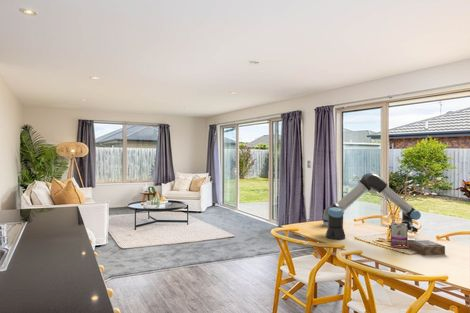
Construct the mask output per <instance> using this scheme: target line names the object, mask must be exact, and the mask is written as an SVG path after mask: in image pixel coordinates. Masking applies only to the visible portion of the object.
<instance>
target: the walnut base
mask: <svg viewBox="0 0 470 313" xmlns="http://www.w3.org/2000/svg"><path fill="white" fill-rule="evenodd" d="M407 249H408V250H410V251H413V252H414V253H417V254H420V255H422V256H437V255H438V256H440V255H446V246H445V245H444V244H443V245H442V244H441V243H440V244H439V243H437V242H434V241H431V240H429V239H428V240H427V239H426V240H425V239H424V240H423V239H422V240H421V239H419V240H408V245H407Z"/></svg>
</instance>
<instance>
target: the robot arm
mask: <svg viewBox="0 0 470 313" xmlns="http://www.w3.org/2000/svg"><path fill="white" fill-rule="evenodd" d="M371 190H374V191H376V192H377V193H378V194H381V195H383V196H384V197H385V196H386V197H387V198H386V197H385V198H386V199H387V200H389V201H390V202H391V203H392V204H393V205H395V206H396V207H397V208H398V206H399V207H400V209H399V210H401V211H402V212H401V213H402V214H401V222H400V223H404V224H407V232H408V231H410V234H413V233H418V230H419V229H418V227H415V225H414V222H413V221H417V220H420V219H421V217H422V215H421V214H422V213H421V212H420V211H419V210H417V209H415V208H414V207H413V205H412V204H410V203H408V202H407V201H406V200H405V199H404V198H402V196H400V195H399V194H398V193H396V192H395V191H394V190H393V189H392V188H391V187H389V186H388V183H387V182H385V180H384V179H382V178H381V177H380V176H379V175H378V174H375V173H369V172H368V173H365V174H363V176H362V177H361V179H360V180H358V182H357V185H356V186H354V187H353V188H352V189H351V190H349V192H348V193H347V194H346V195H344V196H343V197H342V198H341V199H340V200H339V201H338V202H334V203H333V204H331V205H329V206H328V207H326V210H325V209H324V210H325V216H326V218H327V219H328V226H327V230H326V233H325V237H326V239H331V240H336V241H337V240H344V239H346V233H345V230H344V214H345V211H346V210H347V209H348V208H349V207H351V206H352V205H353V204H354V203H355V202H356V201H357V200H358V199H359V198H361V197H362V196H363V195H364V194H365V193H369V192H370V191H371ZM403 199H404V200H405V201H404V200H403ZM388 229H389V230H391V224H390V225H388Z"/></svg>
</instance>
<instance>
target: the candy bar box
mask: <svg viewBox="0 0 470 313" xmlns="http://www.w3.org/2000/svg"><path fill="white" fill-rule="evenodd" d="M390 225H391V229H390V246H393V245H401V246H400V247H402V246H403V245H405V246H407V247H408V245H407V244H408V241H409V240H408V231H407V224H404V223H401V222H399V223H398V222H391V223H390Z"/></svg>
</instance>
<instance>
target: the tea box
mask: <svg viewBox="0 0 470 313" xmlns="http://www.w3.org/2000/svg"><path fill="white" fill-rule="evenodd" d="M325 210H326V209H323V212H322V213H323V215H322V218H323V219H322V220H323V221H322V222H323V223H322V225H323V226H327V227H328V219H327V218H326V216H325Z"/></svg>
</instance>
